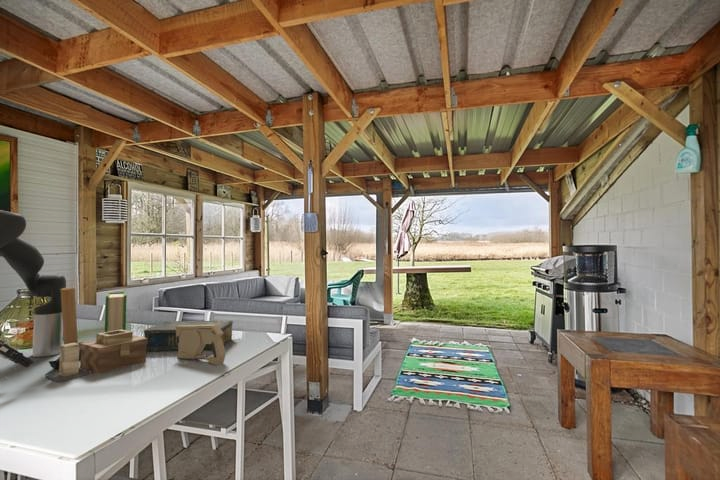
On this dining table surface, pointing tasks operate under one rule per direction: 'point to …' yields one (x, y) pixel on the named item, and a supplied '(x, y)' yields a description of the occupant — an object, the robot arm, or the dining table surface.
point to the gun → (200, 342)
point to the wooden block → (69, 359)
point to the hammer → (68, 320)
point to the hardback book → (115, 311)
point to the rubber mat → (60, 378)
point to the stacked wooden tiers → (113, 351)
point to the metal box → (166, 339)
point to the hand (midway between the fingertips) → (24, 362)
